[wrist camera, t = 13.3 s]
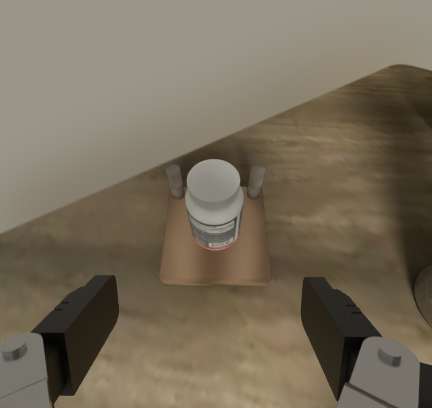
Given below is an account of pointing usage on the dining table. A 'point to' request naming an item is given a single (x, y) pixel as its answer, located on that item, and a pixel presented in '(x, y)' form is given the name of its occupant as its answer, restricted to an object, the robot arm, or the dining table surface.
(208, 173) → the pill bottle
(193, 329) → the dining table surface
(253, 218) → the stand
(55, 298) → the dining table surface
